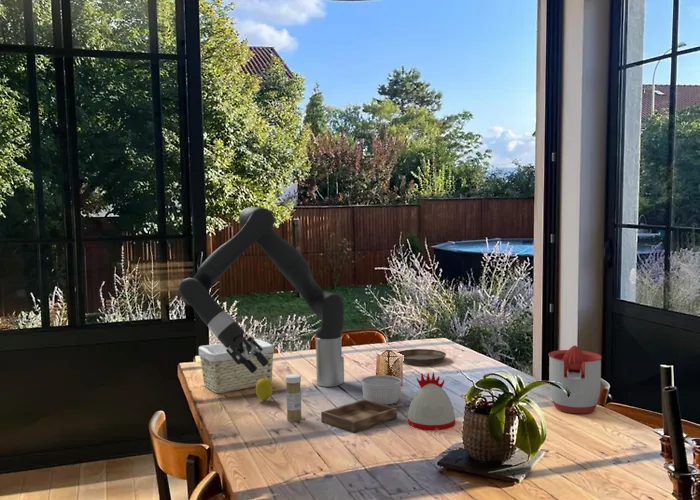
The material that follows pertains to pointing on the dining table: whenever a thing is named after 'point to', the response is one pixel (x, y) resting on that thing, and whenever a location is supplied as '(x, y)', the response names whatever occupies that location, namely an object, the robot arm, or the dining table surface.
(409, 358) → the plant saucer
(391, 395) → the ramekin
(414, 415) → the kitchen timer
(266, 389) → the lemon
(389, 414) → the serving box
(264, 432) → the dining table surface
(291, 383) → the sprinkles bottle
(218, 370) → the storage basket
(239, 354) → the robot arm
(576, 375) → the citrus juicer
